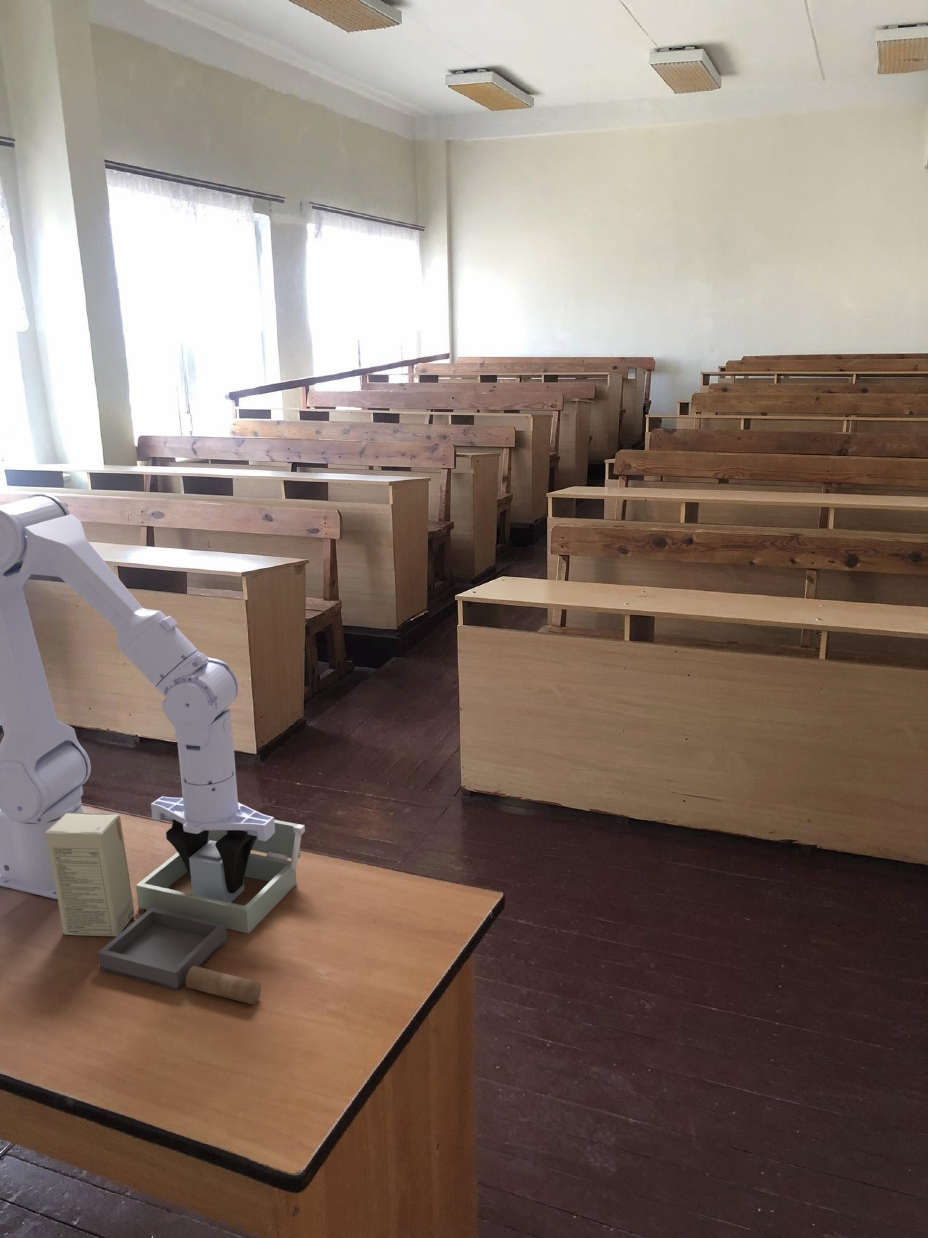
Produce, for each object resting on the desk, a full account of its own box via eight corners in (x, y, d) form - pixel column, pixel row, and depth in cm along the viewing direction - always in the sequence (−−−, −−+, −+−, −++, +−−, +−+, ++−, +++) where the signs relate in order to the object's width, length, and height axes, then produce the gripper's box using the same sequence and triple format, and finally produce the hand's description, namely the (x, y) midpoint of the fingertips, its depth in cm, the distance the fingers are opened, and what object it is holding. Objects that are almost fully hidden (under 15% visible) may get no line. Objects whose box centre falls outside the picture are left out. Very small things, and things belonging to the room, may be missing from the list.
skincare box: (136, 914, 102) (124, 813, 98) (118, 938, 97) (105, 833, 94) (79, 911, 102) (65, 810, 99) (59, 935, 98) (44, 830, 95)
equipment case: (138, 907, 103) (131, 851, 101) (199, 857, 113) (194, 804, 111) (255, 935, 98) (250, 876, 96) (307, 879, 108) (304, 825, 106)
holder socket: (100, 970, 92) (97, 952, 92) (153, 923, 100) (151, 907, 99) (178, 990, 89) (176, 973, 89) (226, 941, 97) (225, 924, 96)
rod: (186, 992, 89) (184, 974, 89) (199, 979, 91) (197, 961, 90) (250, 1009, 87) (248, 991, 86) (261, 995, 89) (260, 977, 88)
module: (193, 902, 104) (188, 852, 102) (214, 883, 107) (210, 835, 106) (224, 909, 102) (219, 858, 101) (244, 889, 106) (240, 841, 104)
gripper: (128, 779, 99) (141, 891, 103) (245, 800, 95) (254, 917, 99) (169, 752, 106) (180, 859, 110) (281, 771, 101) (289, 882, 105)
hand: (218, 884), depth 104 cm, fingers closed on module, 4 cm apart
